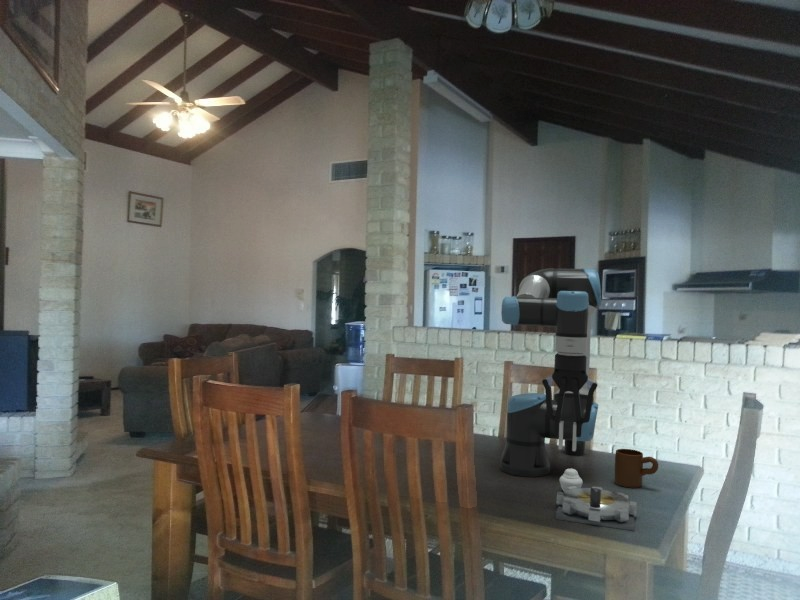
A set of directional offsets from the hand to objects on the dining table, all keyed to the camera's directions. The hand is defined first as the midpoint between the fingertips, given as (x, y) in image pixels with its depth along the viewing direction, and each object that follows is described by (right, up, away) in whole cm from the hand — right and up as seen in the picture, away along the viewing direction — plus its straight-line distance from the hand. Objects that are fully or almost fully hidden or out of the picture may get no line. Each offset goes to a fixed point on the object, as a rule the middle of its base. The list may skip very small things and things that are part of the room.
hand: (567, 448), depth 151 cm
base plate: (+8, -17, +3) cm, 19 cm away
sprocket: (+8, -16, +3) cm, 18 cm away
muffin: (+5, -17, +17) cm, 24 cm away
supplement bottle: (+18, -16, +59) cm, 64 cm away
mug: (+26, -17, +25) cm, 40 cm away
